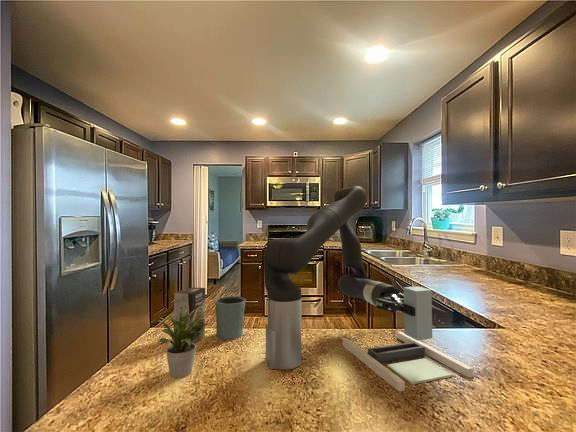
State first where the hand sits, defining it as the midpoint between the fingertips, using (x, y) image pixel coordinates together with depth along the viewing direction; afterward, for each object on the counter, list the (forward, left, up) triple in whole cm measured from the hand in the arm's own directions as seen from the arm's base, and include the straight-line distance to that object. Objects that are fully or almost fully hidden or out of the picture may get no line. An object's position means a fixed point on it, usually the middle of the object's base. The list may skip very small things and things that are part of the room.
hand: (422, 310), depth 71 cm
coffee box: (-56, +41, -16) cm, 71 cm away
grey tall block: (0, +2, -7) cm, 7 cm away
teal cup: (-43, +41, -16) cm, 61 cm away
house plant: (-58, +18, -16) cm, 63 cm away
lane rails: (0, +9, -16) cm, 18 cm away
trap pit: (0, +10, -16) cm, 19 cm away
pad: (0, +2, -16) cm, 16 cm away
